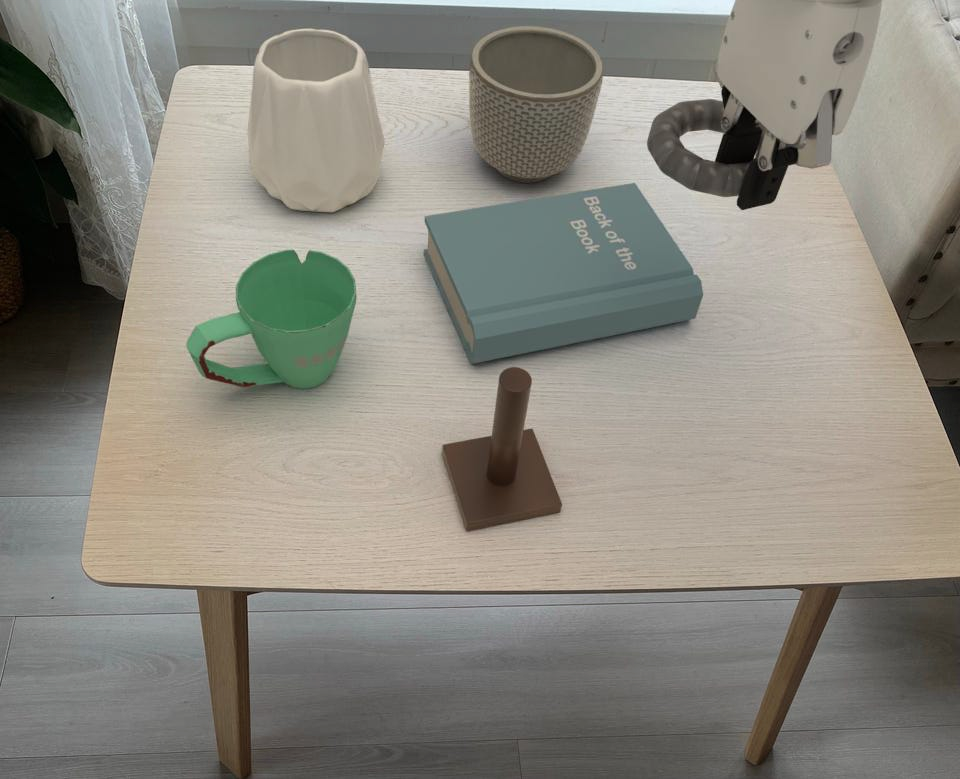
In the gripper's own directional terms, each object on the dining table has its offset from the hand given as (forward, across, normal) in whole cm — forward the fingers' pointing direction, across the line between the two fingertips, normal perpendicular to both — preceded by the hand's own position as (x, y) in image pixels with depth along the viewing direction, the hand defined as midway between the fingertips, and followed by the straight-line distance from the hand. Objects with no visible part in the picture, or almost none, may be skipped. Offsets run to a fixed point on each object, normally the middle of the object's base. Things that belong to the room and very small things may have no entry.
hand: (742, 188), depth 73 cm
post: (+21, -6, +21) cm, 30 cm away
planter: (+21, +33, +1) cm, 39 cm away
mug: (+21, +11, +35) cm, 42 cm away
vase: (+21, +37, +24) cm, 49 cm away
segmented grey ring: (-1, +4, 0) cm, 4 cm away
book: (+21, +14, +6) cm, 26 cm away
